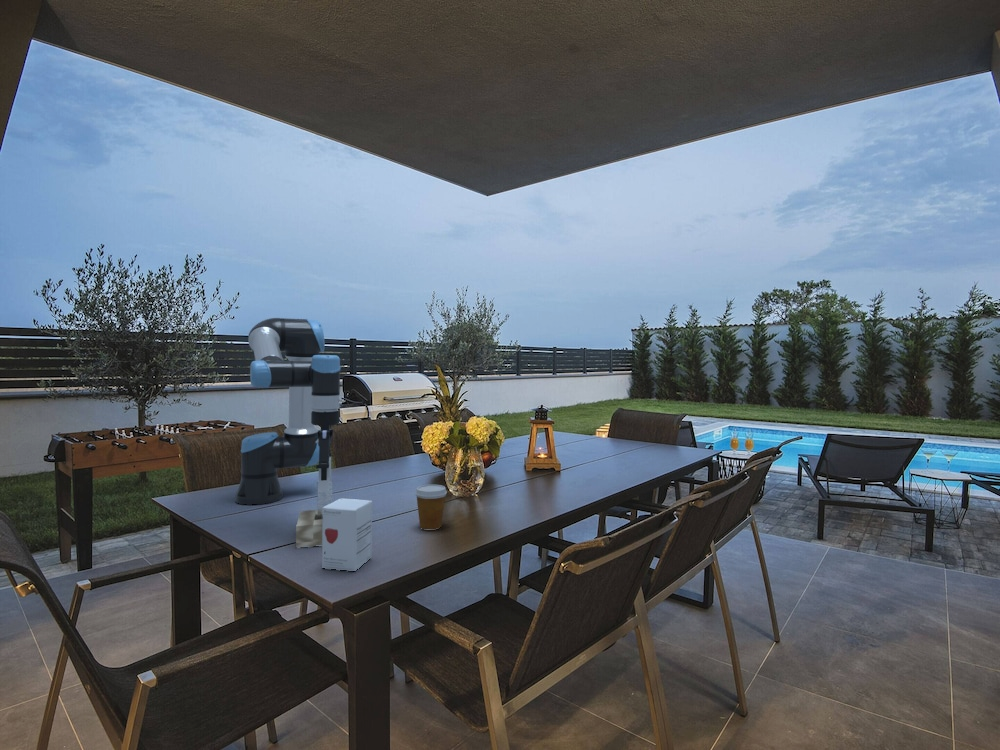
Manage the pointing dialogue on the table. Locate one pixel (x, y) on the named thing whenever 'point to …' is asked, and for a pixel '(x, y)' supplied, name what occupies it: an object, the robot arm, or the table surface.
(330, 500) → the peg
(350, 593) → the table surface
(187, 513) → the table surface
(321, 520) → the bore block
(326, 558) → the supplement box
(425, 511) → the disposable coffee cup
